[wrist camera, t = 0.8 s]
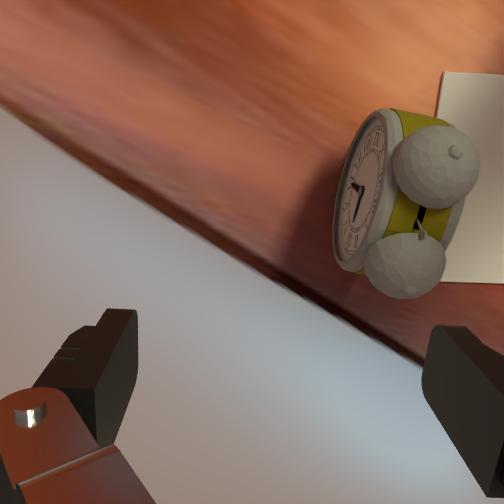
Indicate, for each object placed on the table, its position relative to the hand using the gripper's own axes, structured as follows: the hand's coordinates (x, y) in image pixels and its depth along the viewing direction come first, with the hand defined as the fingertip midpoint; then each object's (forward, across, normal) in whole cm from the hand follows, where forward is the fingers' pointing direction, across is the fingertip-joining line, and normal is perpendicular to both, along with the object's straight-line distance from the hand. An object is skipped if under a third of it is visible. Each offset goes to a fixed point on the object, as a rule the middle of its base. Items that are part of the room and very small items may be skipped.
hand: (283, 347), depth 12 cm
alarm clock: (+28, -10, 0) cm, 30 cm away
